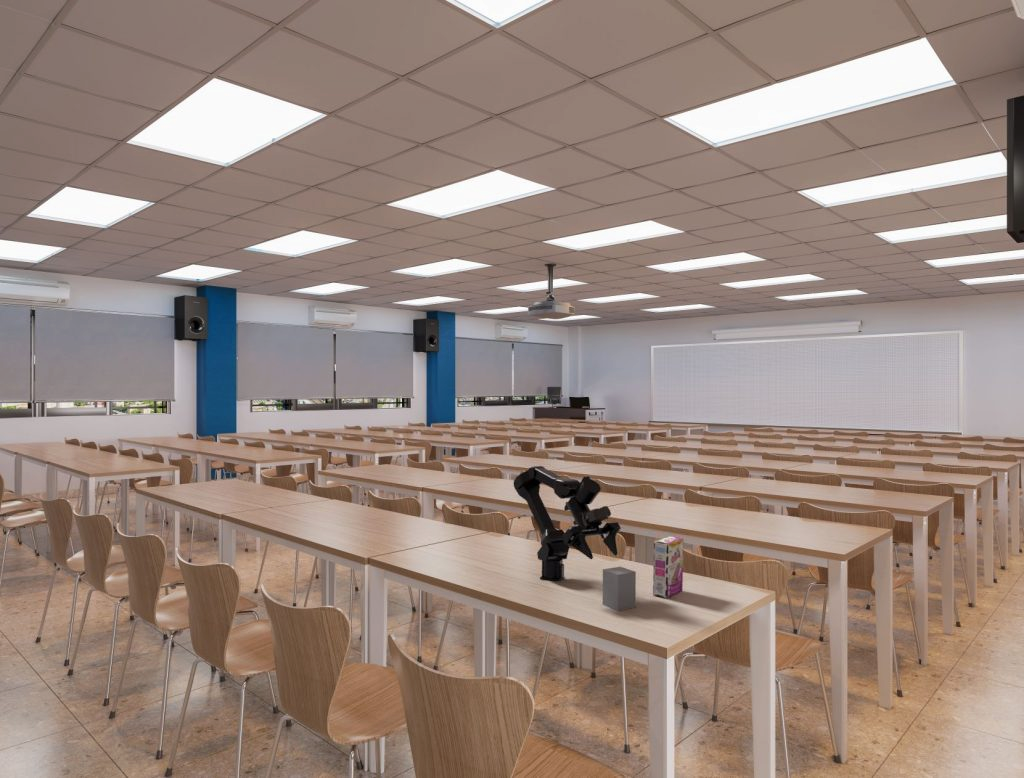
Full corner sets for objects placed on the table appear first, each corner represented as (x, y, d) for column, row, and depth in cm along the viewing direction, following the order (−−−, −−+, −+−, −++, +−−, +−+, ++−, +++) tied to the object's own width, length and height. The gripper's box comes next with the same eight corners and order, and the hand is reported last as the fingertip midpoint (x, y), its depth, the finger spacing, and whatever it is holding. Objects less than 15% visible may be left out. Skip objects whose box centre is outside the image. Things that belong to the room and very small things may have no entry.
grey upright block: (602, 604, 183) (602, 569, 184) (620, 600, 187) (620, 566, 187) (617, 610, 178) (617, 574, 178) (635, 607, 181) (635, 571, 181)
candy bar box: (667, 599, 189) (668, 543, 190) (652, 595, 192) (652, 541, 193) (683, 590, 198) (684, 537, 198) (668, 587, 201) (669, 535, 201)
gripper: (568, 499, 188) (591, 544, 179) (617, 495, 198) (641, 537, 188) (553, 522, 195) (574, 566, 185) (600, 517, 205) (623, 558, 195)
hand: (604, 556), depth 188 cm, fingers open, 9 cm apart
